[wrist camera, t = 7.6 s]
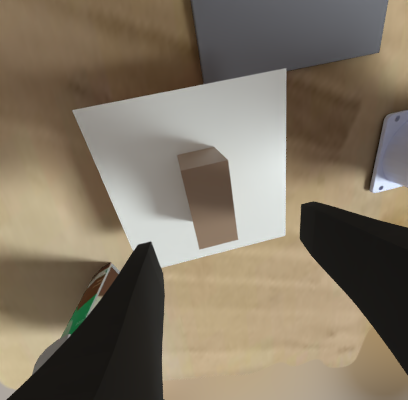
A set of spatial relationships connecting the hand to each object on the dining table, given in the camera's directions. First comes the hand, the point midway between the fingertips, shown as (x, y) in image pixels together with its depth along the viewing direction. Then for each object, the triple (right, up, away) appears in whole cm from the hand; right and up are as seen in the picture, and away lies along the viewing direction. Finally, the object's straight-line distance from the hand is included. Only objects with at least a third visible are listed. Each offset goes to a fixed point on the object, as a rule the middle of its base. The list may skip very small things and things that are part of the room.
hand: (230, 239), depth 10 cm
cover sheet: (-1, +3, +5) cm, 6 cm away
